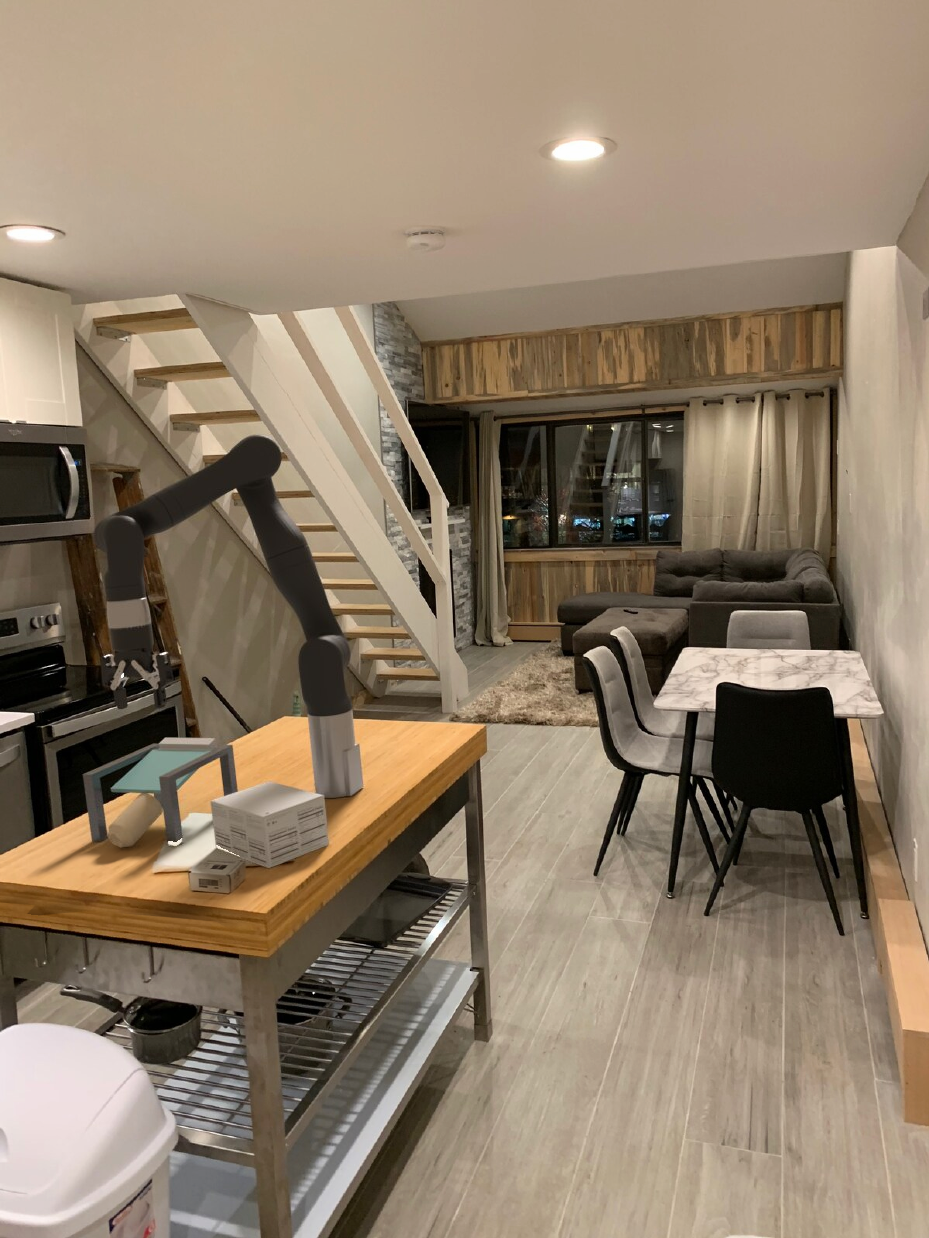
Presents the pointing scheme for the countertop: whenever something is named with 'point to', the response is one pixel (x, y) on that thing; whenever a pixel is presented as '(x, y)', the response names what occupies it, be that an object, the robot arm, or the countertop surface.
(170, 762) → the trapdoor
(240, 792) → the supplement box
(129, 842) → the candle
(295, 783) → the countertop surface
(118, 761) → the frame
